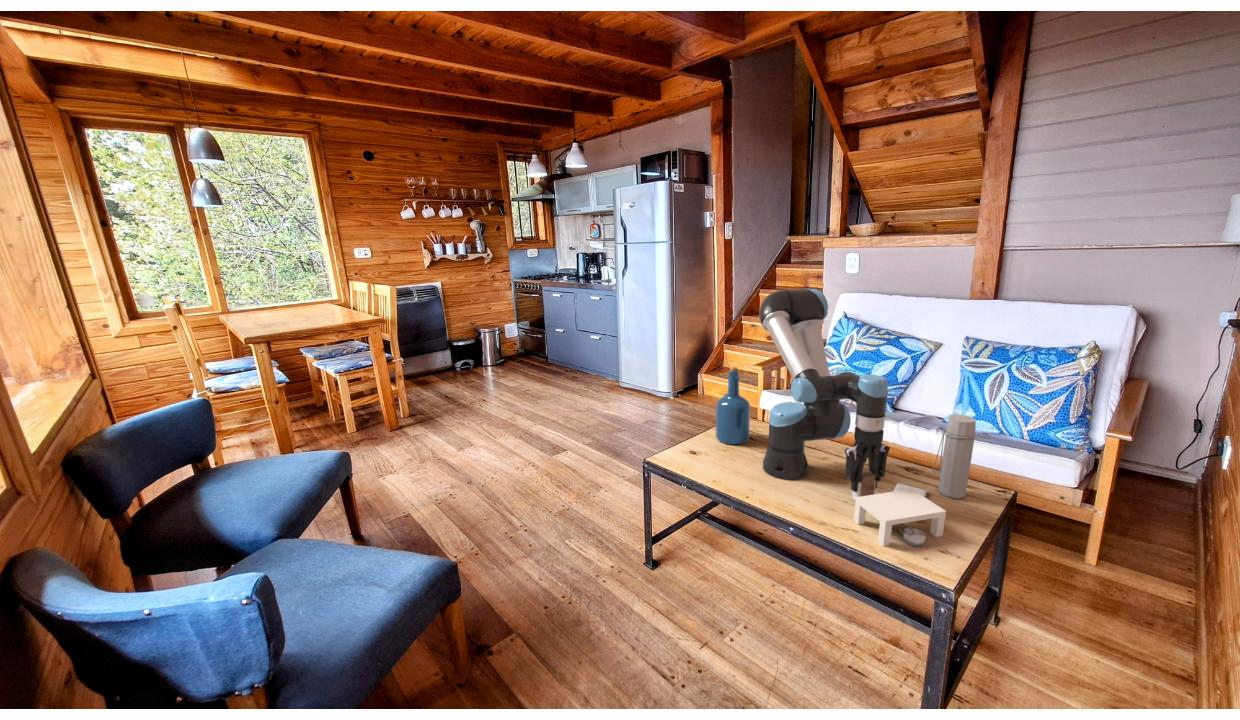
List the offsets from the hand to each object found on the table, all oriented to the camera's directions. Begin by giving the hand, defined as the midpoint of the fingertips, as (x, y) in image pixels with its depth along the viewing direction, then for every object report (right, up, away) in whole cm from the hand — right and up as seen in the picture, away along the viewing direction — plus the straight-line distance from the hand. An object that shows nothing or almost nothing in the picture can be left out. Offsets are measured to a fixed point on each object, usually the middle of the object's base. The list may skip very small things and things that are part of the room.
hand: (862, 498), depth 148 cm
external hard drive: (+14, -1, +1) cm, 14 cm away
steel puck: (+4, -6, -19) cm, 20 cm away
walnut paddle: (+1, -2, -7) cm, 8 cm away
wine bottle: (-29, +10, +48) cm, 57 cm away
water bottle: (+28, +1, +3) cm, 28 cm away
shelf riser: (+3, -4, -13) cm, 14 cm away
